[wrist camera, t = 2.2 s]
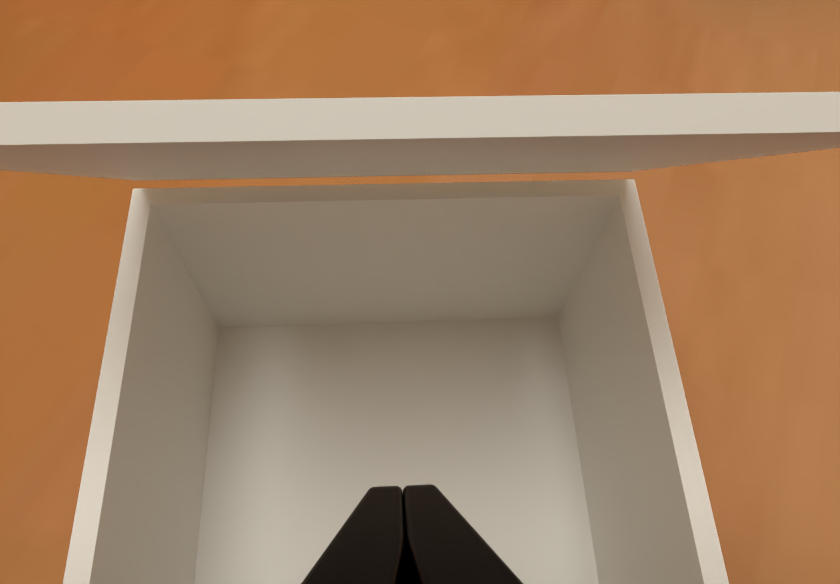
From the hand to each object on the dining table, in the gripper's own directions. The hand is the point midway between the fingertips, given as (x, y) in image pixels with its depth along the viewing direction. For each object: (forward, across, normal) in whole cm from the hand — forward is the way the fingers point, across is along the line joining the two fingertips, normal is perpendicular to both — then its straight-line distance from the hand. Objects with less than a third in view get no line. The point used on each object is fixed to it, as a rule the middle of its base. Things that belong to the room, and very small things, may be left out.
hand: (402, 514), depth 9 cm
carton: (+12, 0, +7) cm, 14 cm away
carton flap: (+5, 0, -4) cm, 6 cm away
